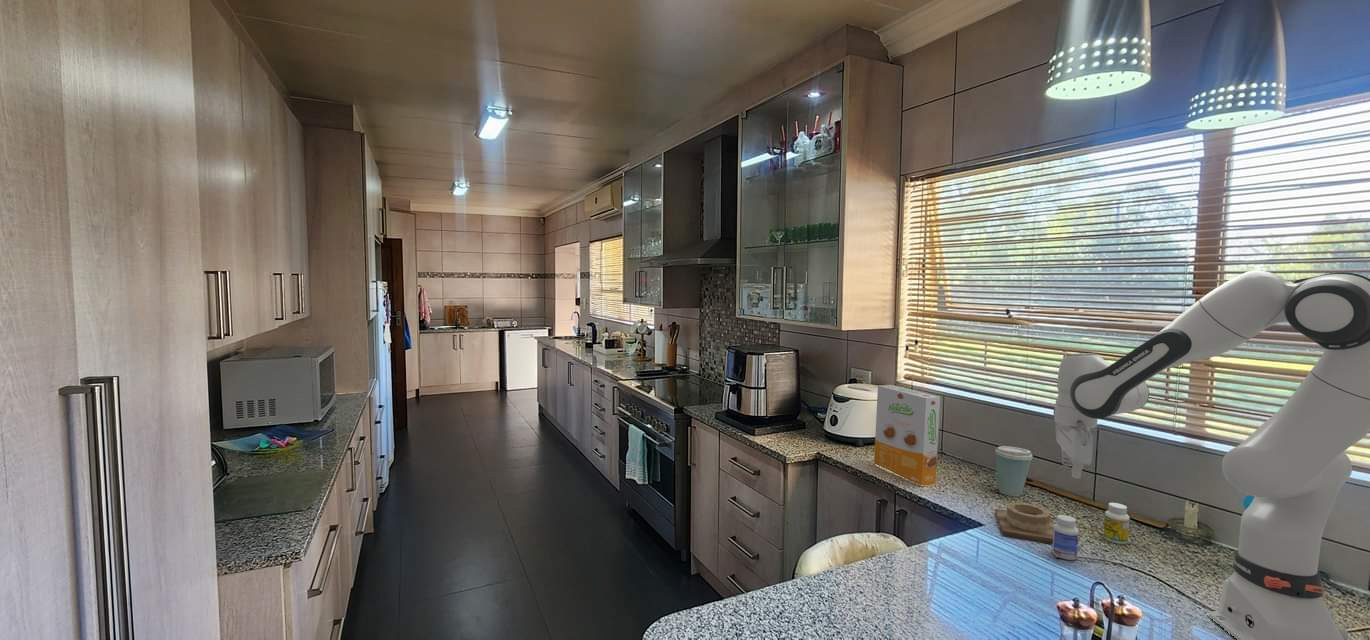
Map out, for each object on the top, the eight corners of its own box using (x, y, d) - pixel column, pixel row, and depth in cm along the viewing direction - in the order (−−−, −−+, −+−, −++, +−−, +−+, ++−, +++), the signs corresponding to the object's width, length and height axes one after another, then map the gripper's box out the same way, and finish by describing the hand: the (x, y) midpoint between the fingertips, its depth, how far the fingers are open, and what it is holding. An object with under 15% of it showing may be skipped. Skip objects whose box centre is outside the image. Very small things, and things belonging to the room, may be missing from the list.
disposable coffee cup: (985, 487, 192) (988, 443, 191) (1017, 487, 193) (1019, 443, 192) (1004, 499, 182) (1007, 453, 181) (1037, 499, 182) (1040, 453, 181)
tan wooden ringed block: (1063, 545, 150) (1064, 525, 150) (1002, 535, 156) (1004, 516, 155) (1049, 522, 165) (1051, 503, 165) (995, 513, 170) (996, 495, 170)
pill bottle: (1081, 561, 142) (1084, 523, 141) (1057, 559, 143) (1059, 521, 142) (1071, 551, 147) (1073, 514, 147) (1047, 549, 148) (1050, 512, 148)
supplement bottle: (1132, 543, 153) (1135, 508, 152) (1118, 545, 151) (1120, 510, 150) (1112, 534, 158) (1115, 500, 157) (1098, 536, 156) (1100, 502, 156)
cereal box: (935, 484, 194) (940, 397, 191) (921, 487, 191) (926, 398, 189) (887, 464, 214) (891, 384, 212) (874, 466, 212) (877, 385, 209)
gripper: (1103, 429, 132) (1097, 487, 133) (1080, 409, 151) (1075, 461, 152) (1070, 425, 134) (1065, 483, 135) (1052, 407, 153) (1048, 457, 154)
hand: (1070, 471), depth 144 cm, fingers open, 8 cm apart
